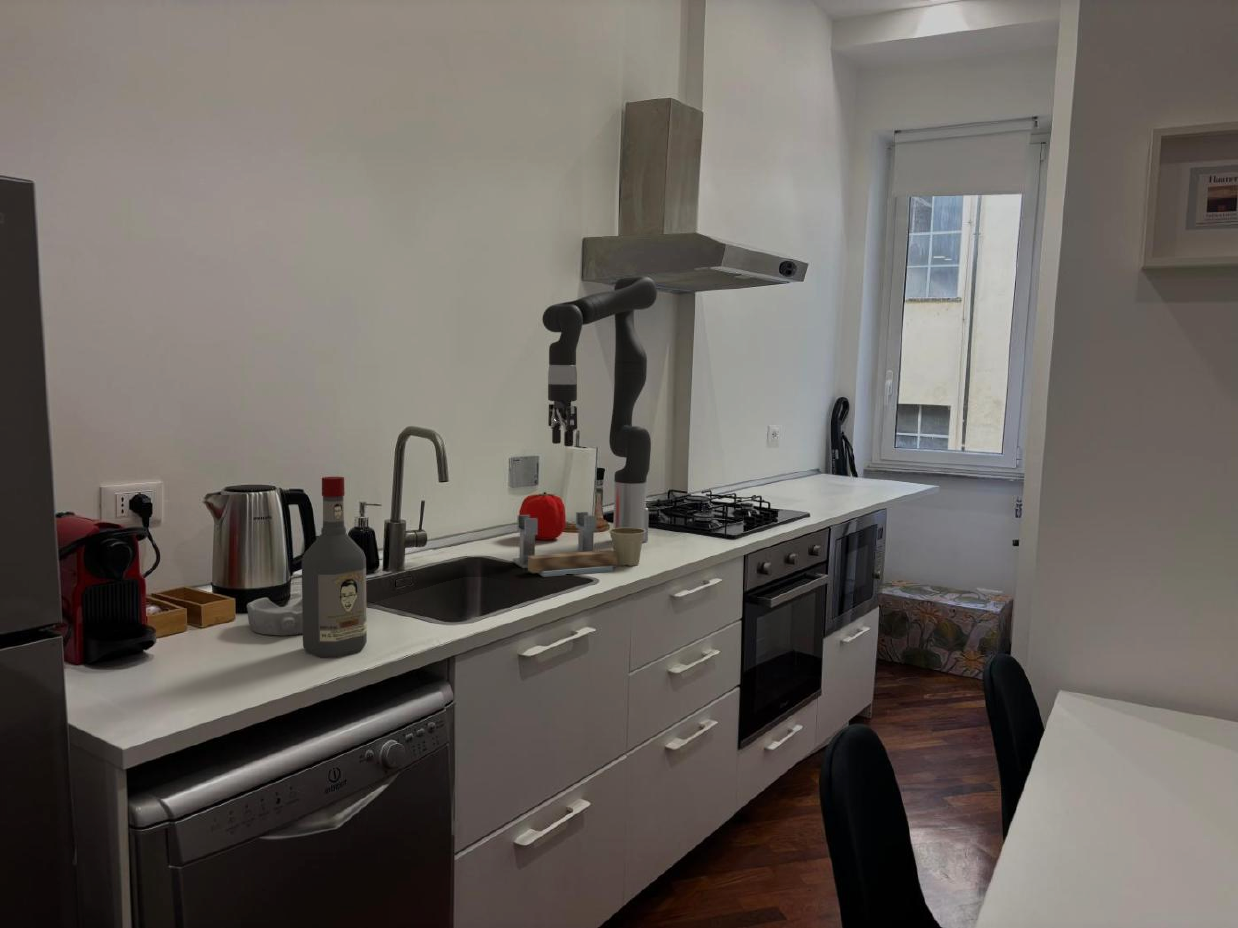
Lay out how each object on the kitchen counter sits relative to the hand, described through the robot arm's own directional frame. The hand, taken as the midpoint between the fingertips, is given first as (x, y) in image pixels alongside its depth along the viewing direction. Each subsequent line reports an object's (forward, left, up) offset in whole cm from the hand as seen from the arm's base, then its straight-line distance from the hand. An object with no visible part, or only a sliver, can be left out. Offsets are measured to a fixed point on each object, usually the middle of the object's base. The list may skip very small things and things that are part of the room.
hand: (562, 444), depth 240 cm
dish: (+72, +45, -30) cm, 90 cm away
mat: (+4, +18, -29) cm, 35 cm away
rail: (+4, +18, -29) cm, 34 cm away
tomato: (-4, -25, -30) cm, 39 cm away
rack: (+4, +7, -29) cm, 31 cm away
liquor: (+66, +62, -30) cm, 95 cm away
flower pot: (-12, +15, -30) cm, 35 cm away
